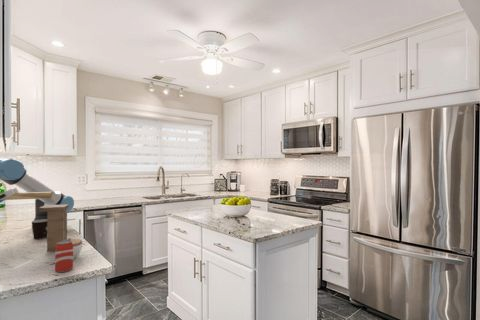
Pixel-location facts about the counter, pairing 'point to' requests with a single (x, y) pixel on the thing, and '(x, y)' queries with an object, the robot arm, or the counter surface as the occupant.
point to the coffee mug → (39, 228)
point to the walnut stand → (55, 224)
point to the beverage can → (64, 256)
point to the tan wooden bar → (30, 195)
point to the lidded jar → (76, 246)
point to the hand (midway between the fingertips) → (15, 190)
